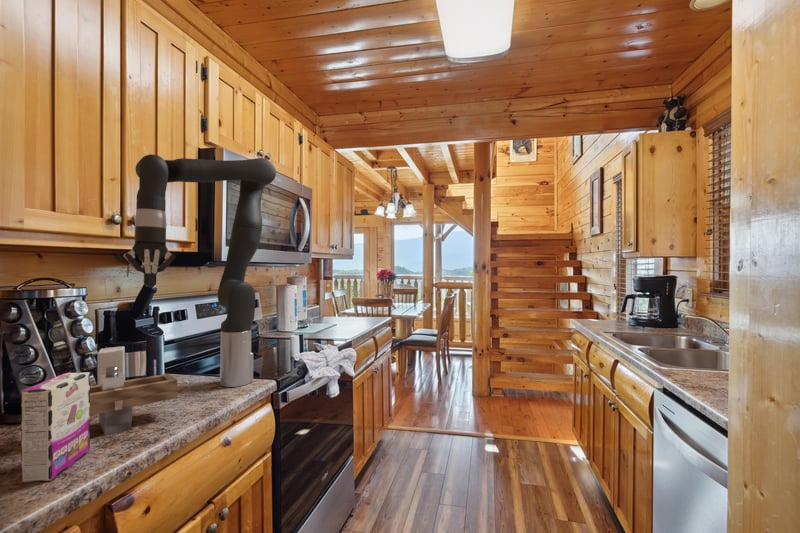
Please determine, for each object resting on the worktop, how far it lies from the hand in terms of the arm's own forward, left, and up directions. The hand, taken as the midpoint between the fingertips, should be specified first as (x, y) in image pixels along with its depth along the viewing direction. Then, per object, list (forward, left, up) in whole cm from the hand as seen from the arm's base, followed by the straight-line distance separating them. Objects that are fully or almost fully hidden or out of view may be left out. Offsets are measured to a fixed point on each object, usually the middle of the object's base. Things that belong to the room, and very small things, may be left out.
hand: (149, 286), depth 110 cm
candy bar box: (+21, +32, -32) cm, 50 cm away
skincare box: (+8, -3, -32) cm, 33 cm away
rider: (+11, +17, -25) cm, 32 cm away
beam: (+10, +17, -32) cm, 38 cm away
